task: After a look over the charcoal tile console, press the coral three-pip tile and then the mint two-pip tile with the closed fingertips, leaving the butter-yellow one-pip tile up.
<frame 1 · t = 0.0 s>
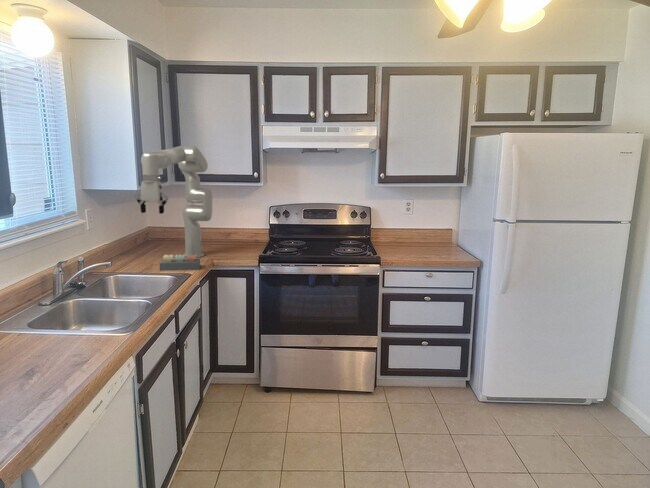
hand: (152, 213, 214), 31 cm above the worktop, fingers open, 9 cm apart
tile three: (191, 259, 231), point 5 cm above the worktop, slide at 0.0 cm
console: (180, 268, 231), on the worktop
tile two: (180, 259, 230), point 5 cm above the worktop, slide at 0.0 cm
tile one: (168, 260, 229), point 5 cm above the worktop, slide at 0.0 cm
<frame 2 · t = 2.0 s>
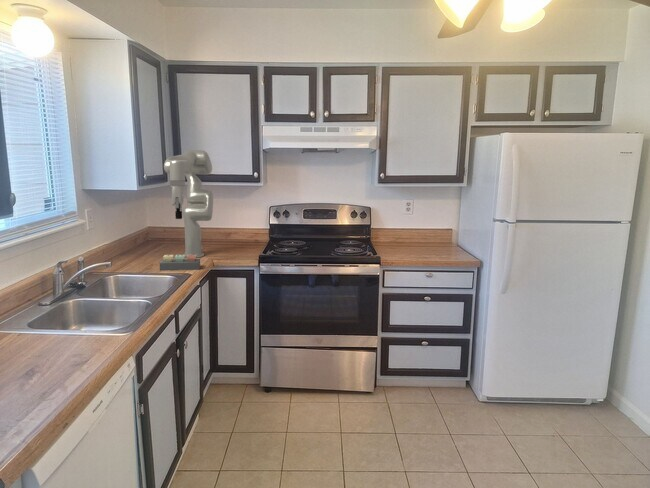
hand: (178, 218, 226), 27 cm above the worktop, fingers closed
nothing on the worktop moved.
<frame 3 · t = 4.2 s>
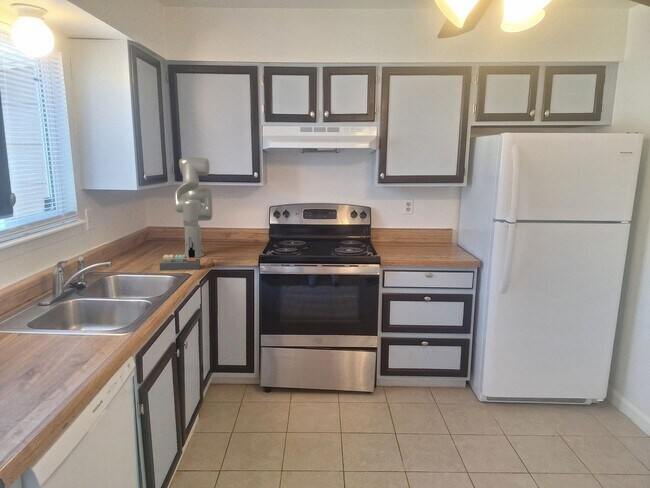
hand: (191, 256, 231), 6 cm above the worktop, fingers closed
tile three: (191, 261, 231), point 3 cm above the worktop, slide at 1.1 cm
everything else where it was.
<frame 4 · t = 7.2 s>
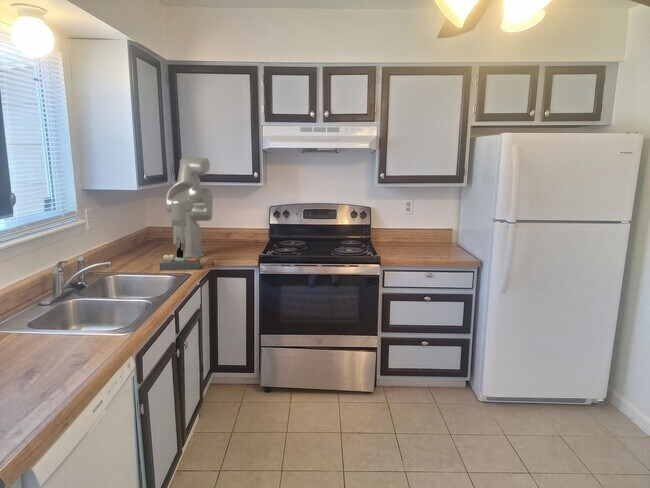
hand: (180, 257, 229), 6 cm above the worktop, fingers closed
tile two: (180, 261, 230), point 4 cm above the worktop, slide at 1.1 cm
everything else where it was.
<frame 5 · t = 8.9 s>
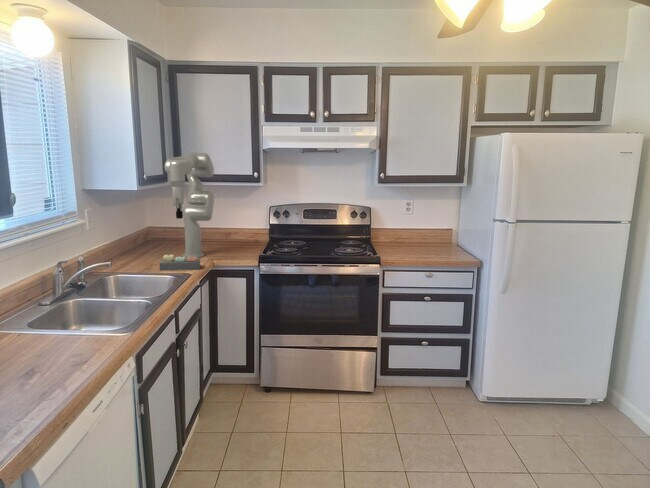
hand: (179, 218, 231), 27 cm above the worktop, fingers closed
nothing on the worktop moved.
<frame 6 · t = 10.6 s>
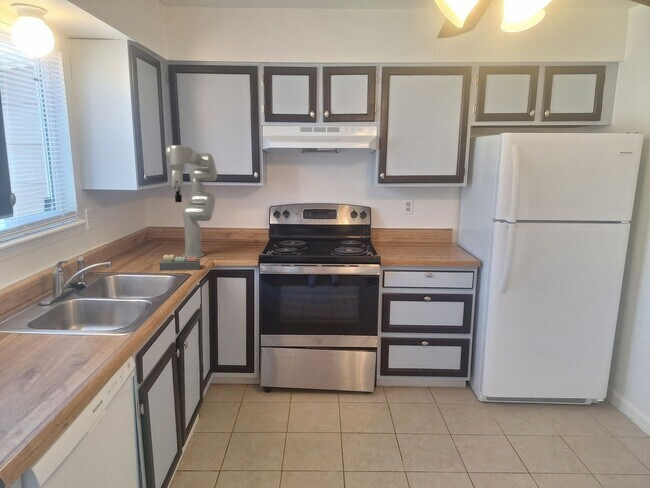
hand: (178, 202, 235), 35 cm above the worktop, fingers closed
nothing on the worktop moved.
at the end: tile three slide at 1.2 cm; tile two slide at 1.2 cm; tile one slide at 0.0 cm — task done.
